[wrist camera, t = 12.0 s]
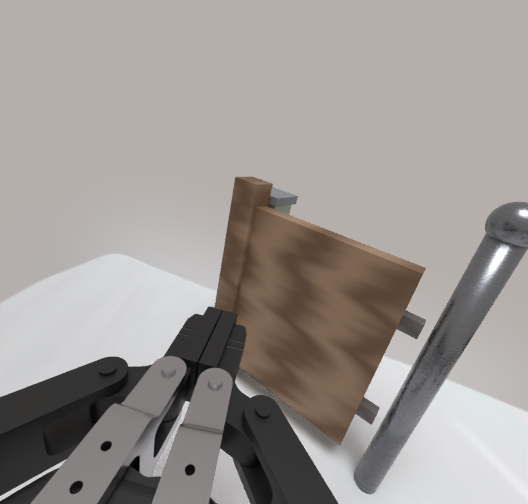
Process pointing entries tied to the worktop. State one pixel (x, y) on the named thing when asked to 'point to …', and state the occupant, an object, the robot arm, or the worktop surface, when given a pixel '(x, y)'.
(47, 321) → the worktop surface
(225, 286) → the gate
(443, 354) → the hinge post
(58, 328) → the worktop surface
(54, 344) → the worktop surface
